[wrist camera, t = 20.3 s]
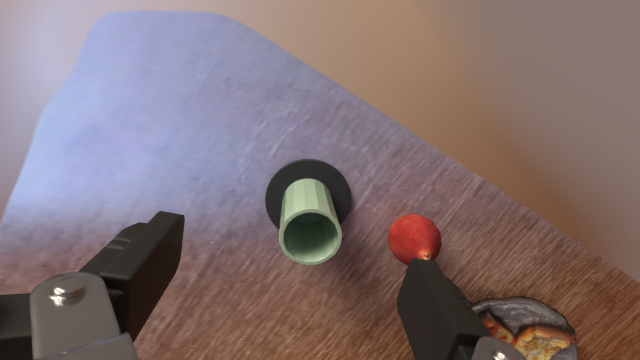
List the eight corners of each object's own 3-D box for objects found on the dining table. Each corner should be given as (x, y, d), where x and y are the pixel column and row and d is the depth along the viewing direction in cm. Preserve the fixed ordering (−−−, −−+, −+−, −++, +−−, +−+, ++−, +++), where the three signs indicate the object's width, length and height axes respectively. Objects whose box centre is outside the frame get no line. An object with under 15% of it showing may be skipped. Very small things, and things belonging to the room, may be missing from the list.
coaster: (247, 198, 40) (247, 199, 39) (311, 141, 38) (311, 142, 38) (305, 252, 42) (305, 254, 42) (366, 201, 41) (367, 203, 40)
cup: (272, 200, 39) (266, 237, 31) (309, 168, 39) (313, 196, 30) (305, 233, 41) (308, 276, 33) (341, 202, 40) (354, 238, 32)
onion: (424, 199, 41) (453, 228, 34) (429, 240, 43) (458, 277, 36) (378, 210, 41) (396, 241, 34) (384, 250, 43) (404, 289, 36)
